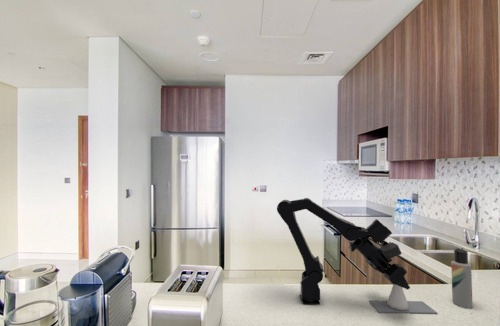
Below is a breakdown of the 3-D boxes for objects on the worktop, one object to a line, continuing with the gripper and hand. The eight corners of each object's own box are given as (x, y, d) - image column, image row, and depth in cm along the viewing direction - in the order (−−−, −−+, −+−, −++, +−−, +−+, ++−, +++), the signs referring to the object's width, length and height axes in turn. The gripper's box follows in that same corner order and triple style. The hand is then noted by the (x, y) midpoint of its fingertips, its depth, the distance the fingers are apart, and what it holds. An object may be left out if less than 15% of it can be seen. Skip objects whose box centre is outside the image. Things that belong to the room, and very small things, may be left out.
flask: (412, 312, 86) (412, 283, 87) (389, 309, 88) (389, 280, 89) (405, 302, 93) (405, 274, 94) (384, 299, 95) (383, 272, 96)
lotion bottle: (468, 302, 95) (466, 248, 96) (475, 309, 90) (473, 252, 90) (449, 299, 97) (448, 246, 98) (456, 306, 91) (454, 250, 92)
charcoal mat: (378, 313, 87) (378, 311, 87) (368, 301, 95) (368, 300, 95) (437, 314, 86) (437, 312, 86) (422, 302, 94) (422, 301, 94)
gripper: (400, 242, 83) (435, 277, 82) (373, 230, 101) (401, 258, 101) (376, 266, 82) (411, 301, 82) (353, 249, 101) (382, 278, 100)
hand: (401, 282), depth 91 cm, fingers open, 9 cm apart
